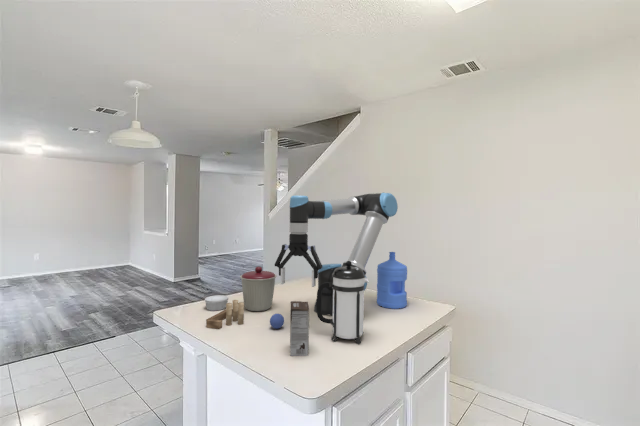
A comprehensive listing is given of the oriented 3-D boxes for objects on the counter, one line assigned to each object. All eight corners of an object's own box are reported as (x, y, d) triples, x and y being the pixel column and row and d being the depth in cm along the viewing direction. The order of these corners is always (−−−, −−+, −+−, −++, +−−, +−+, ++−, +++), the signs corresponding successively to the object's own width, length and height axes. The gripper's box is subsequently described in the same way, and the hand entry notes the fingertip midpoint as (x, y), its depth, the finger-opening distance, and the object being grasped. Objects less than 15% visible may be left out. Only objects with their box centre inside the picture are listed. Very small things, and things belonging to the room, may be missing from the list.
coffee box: (290, 345, 116) (290, 301, 116) (307, 344, 116) (308, 300, 116) (289, 356, 107) (290, 308, 107) (308, 355, 107) (309, 308, 107)
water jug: (371, 305, 167) (371, 252, 167) (385, 299, 179) (386, 249, 179) (398, 311, 157) (398, 255, 157) (411, 304, 169) (412, 252, 169)
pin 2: (238, 320, 141) (239, 300, 141) (236, 321, 139) (236, 301, 139) (234, 319, 142) (234, 299, 142) (231, 321, 140) (231, 301, 140)
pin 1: (232, 323, 137) (233, 303, 137) (229, 325, 134) (230, 304, 134) (228, 323, 137) (228, 302, 137) (224, 325, 135) (225, 304, 135)
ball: (286, 326, 134) (286, 312, 134) (280, 331, 129) (280, 316, 129) (273, 324, 136) (273, 311, 136) (267, 329, 130) (267, 315, 130)
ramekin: (200, 308, 158) (200, 297, 158) (220, 303, 167) (221, 293, 167) (211, 313, 151) (211, 302, 151) (232, 308, 159) (232, 297, 159)
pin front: (244, 323, 138) (244, 302, 138) (241, 325, 136) (242, 304, 135) (239, 322, 138) (240, 302, 138) (236, 324, 136) (237, 303, 136)
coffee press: (352, 327, 134) (352, 256, 134) (374, 341, 120) (375, 262, 120) (315, 334, 126) (316, 259, 126) (335, 349, 112) (336, 265, 112)
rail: (240, 316, 147) (240, 309, 147) (219, 329, 130) (219, 322, 130) (227, 314, 148) (227, 308, 148) (204, 327, 132) (204, 320, 132)
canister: (271, 301, 171) (272, 263, 171) (280, 312, 154) (280, 268, 154) (237, 305, 164) (238, 264, 164) (242, 315, 147) (242, 270, 147)
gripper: (330, 233, 130) (329, 285, 130) (274, 231, 137) (274, 280, 137) (325, 234, 123) (324, 289, 123) (267, 232, 130) (266, 284, 130)
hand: (297, 285), depth 130 cm, fingers open, 13 cm apart
